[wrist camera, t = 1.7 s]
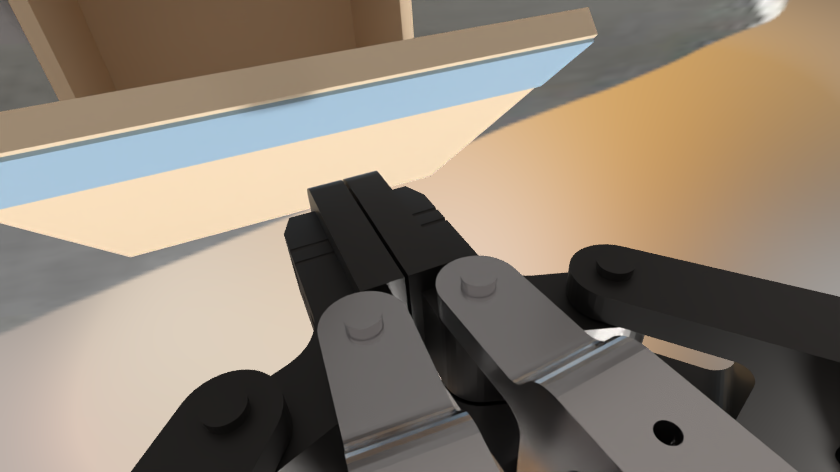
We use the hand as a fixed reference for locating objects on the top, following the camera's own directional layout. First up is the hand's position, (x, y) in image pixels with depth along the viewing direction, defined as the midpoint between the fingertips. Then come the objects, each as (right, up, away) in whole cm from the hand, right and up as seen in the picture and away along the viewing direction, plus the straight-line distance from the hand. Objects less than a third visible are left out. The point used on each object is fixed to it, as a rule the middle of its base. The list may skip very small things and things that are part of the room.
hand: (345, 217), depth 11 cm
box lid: (-3, +3, +8) cm, 9 cm away
